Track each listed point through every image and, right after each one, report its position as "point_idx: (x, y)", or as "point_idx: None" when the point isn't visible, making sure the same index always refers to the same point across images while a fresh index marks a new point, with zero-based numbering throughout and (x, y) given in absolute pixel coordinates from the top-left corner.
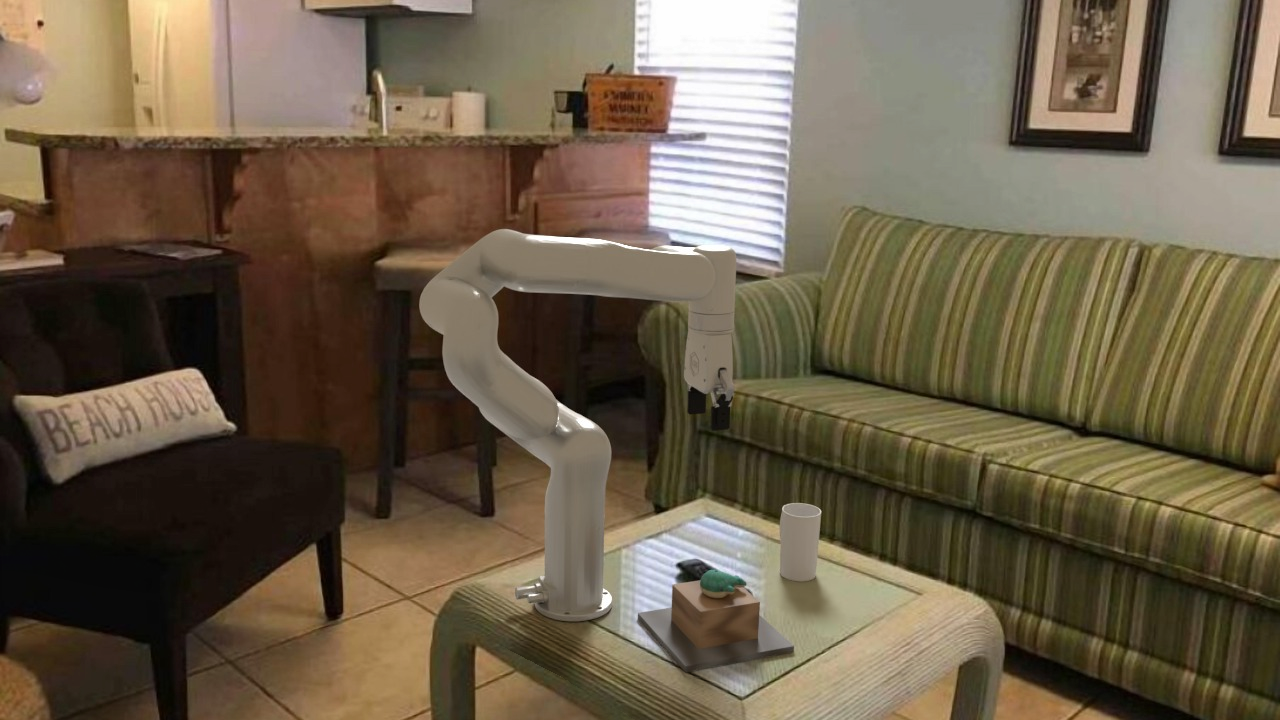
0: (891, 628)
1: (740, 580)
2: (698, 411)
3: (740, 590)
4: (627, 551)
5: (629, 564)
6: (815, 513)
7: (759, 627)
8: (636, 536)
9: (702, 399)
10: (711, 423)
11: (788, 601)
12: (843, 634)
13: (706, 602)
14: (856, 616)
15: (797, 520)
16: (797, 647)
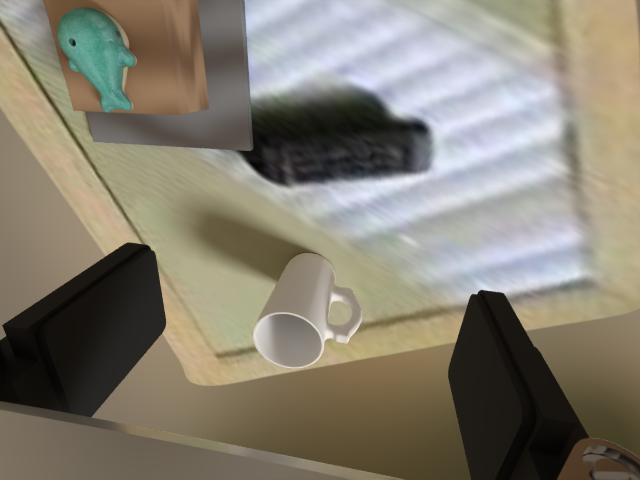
0: None
1: (100, 100)
2: (461, 347)
3: None
4: (533, 53)
5: (471, 27)
6: (294, 357)
7: (149, 125)
8: (591, 109)
9: (471, 433)
10: (110, 258)
11: (237, 216)
12: (138, 224)
13: (74, 7)
14: (179, 265)
15: (263, 314)
16: (112, 152)
